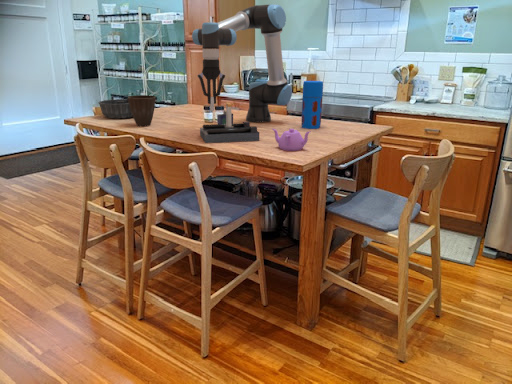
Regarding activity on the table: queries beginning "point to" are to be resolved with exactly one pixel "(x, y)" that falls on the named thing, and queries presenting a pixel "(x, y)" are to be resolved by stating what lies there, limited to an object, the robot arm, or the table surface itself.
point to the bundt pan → (116, 108)
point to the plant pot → (142, 109)
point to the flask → (223, 118)
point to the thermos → (312, 104)
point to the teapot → (291, 140)
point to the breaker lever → (228, 114)
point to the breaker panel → (229, 133)
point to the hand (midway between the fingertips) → (212, 110)
